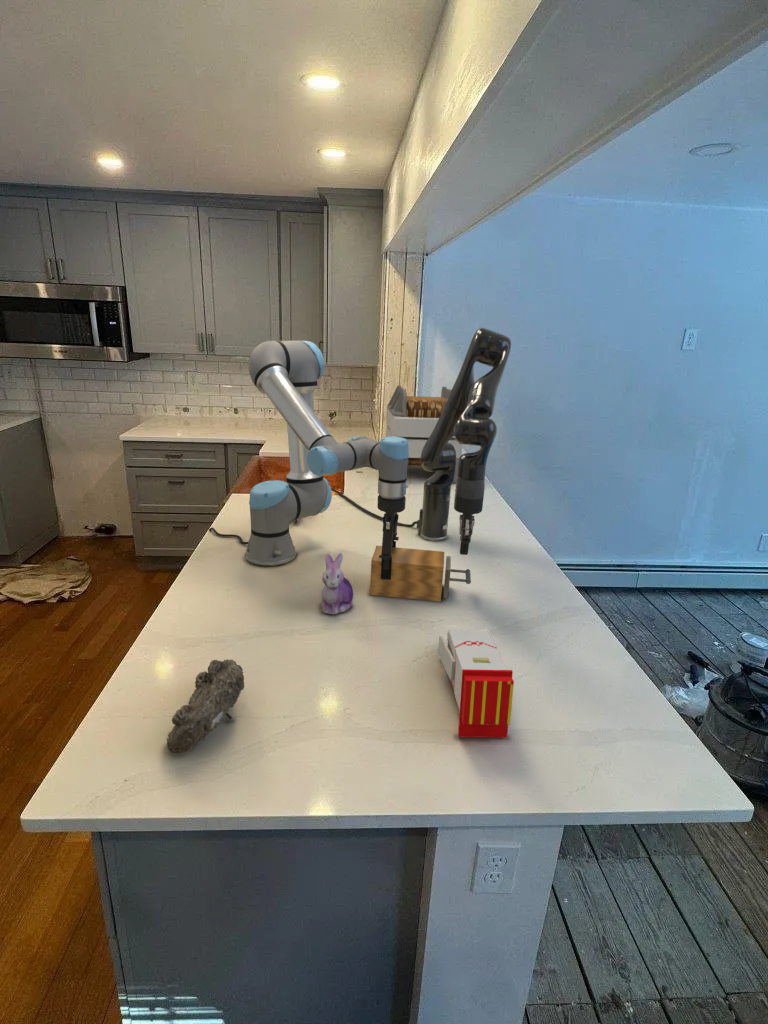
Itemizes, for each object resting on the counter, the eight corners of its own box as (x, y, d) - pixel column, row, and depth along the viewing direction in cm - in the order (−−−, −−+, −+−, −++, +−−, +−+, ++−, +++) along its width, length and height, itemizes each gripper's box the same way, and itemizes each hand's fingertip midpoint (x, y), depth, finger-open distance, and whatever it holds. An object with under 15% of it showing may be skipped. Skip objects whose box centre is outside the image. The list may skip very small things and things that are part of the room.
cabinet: (441, 584, 164) (444, 551, 161) (440, 601, 155) (443, 566, 151) (375, 578, 166) (376, 545, 163) (370, 594, 157) (371, 560, 153)
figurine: (327, 619, 143) (328, 565, 138) (313, 601, 152) (313, 549, 147) (361, 611, 147) (363, 559, 142) (345, 594, 156) (346, 544, 151)
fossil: (192, 660, 117) (244, 628, 112) (224, 691, 120) (276, 661, 115) (142, 746, 98) (202, 712, 93) (182, 779, 101) (242, 748, 96)
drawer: (468, 584, 163) (471, 558, 160) (469, 600, 154) (472, 572, 151) (385, 577, 165) (387, 550, 162) (382, 591, 157) (383, 563, 154)
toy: (488, 613, 130) (523, 677, 101) (484, 667, 133) (517, 744, 104) (435, 612, 130) (455, 676, 101) (432, 666, 133) (451, 743, 103)
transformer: (382, 463, 289) (386, 382, 275) (445, 464, 293) (451, 384, 279) (390, 482, 257) (394, 392, 243) (460, 483, 261) (468, 394, 247)
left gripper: (401, 510, 141) (397, 590, 148) (409, 484, 162) (404, 555, 169) (372, 507, 141) (369, 587, 149) (383, 482, 163) (379, 552, 170)
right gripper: (485, 502, 142) (478, 565, 148) (482, 487, 155) (476, 545, 161) (455, 500, 143) (449, 562, 149) (455, 485, 155) (450, 543, 161)
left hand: (388, 570), depth 159 cm, fingers closed on cabinet, 10 cm apart
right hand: (463, 553), depth 155 cm, fingers closed
